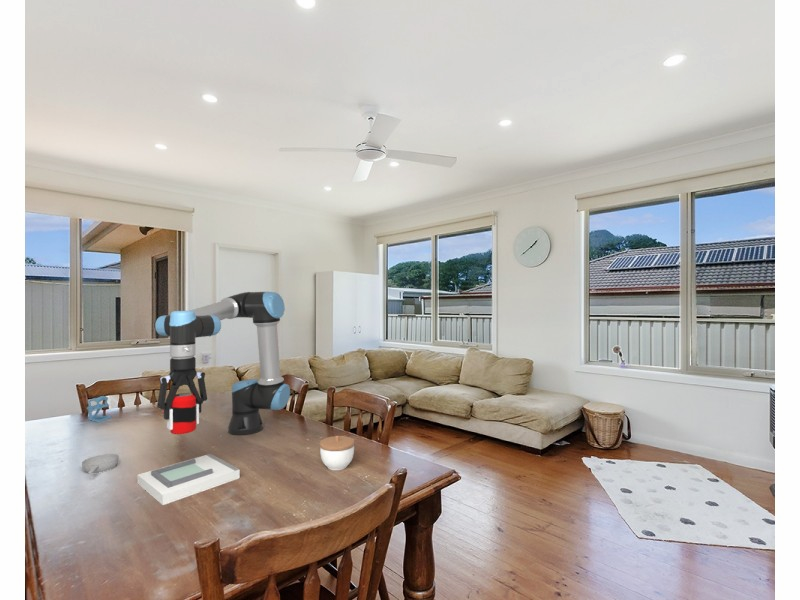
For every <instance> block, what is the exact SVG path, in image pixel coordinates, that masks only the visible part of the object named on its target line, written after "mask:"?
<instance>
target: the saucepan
mask: <svg viewBox="0 0 800 600" xmlns="http://www.w3.org/2000/svg"><path fill="white" fill-rule="evenodd" d="M119 457H120V456H119V454H117V453H106V454H98V455H95V456H90V457H89V458H87V459H84V460H83V461H82V462H81V467H82V470H83V471H84V472H85V473H86V474H89V473H96V474H100V473H99V472H102V473H104V472H103V471H106V472H108V471H107V470H109V471H110V469H111V470H113V469H115V467H116V466H117V465H118V462H119ZM112 468H113V469H112Z"/></svg>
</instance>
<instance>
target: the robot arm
mask: <svg viewBox="0 0 800 600" xmlns="http://www.w3.org/2000/svg"><path fill="white" fill-rule="evenodd" d="M285 309H286V308H285V302H284V299H283V297H282V296H281V295H280V294H279V293H277V292H274V291H247V292H241V293H238V294H233V295H230V296H227V297H224V298H222V299H221V300H220V301H218V302H215V303H212V304H211V303H210V304H207V305H205V306H204V305H203V306H201V307H197V308H195V309H191V310H174V311H171V313H170V314H167V315H166V314H165V315H161V316H159V317H158V318H157V319H156V321H155V325H154V327H155V331H156V333H157V334H158V335H160V336H162V337H163V336H165V337H169V345H170V346H169V357H170V359H169V370H170V371H169V374H168V375H166V376H160V377H159V378H158V379H159V383H160V386H159V391H158V399H157V403H156V404H157V405H156V406H157V409H158V408H159V409H160V410H163V419H164V420H166V429H168V430H172V429H173V409H171V408H170V407H171V405H172V402H173V400H174V397H175V395H176V394H177V391H178V390H179V389H180V387H183V386H188V389H189V391H190V393H192V394H193V395H194V396H195V397H196V425H199V423H200V414H201V413H202V405H203V404H204V402H206V401H208V394H207V389H206V382H205V377H206V373H205V372H203V371H197V369H196V364H197V363H196V359H197V358H196V357H195V356H196V339H197V338H203V337H204V338H205V337H206V338H207V337H211V336H212V337H213V336H217V335H218V334H219V333H220V331H221V329H222V322H221V321H222V320H226V319H227V320H232V319H237V318H244V319H245V318H249V319H252V324H253V325H255V326H256V334H257V345H258V346H257V347H258V356H259V357H258V360H259V370H260V371H259V372H260V378H259V379H258V378H251V379H244V380H239V381H236V382H235V383H233V384H232V387H231V388H232V390H231V404H232V406H231V409H232V411H231V412H232V414H231V417H230V421H229V423H228V428H227V429H228V434H230V435H235V436H245V435H251V434H256V433H258V432H261V431H262V430H263V429H264V423H263V420H262V417H261V414H260V410H270V411H279V410H280V411H281V410H282V409H284V408H285V407H286V406H287V404H288V401H289V400H290V397H291V388H290V385H289V384H287V383H285V379H284V377H283V376H281V366H280V352H279V338H278V337H279V336H278V335H279V334H278V324H279V323H280V322H281V318H282V317H283V316H284V314H285V313H284V312H285ZM195 378H196V379H197V385H198V389H199V391H198V389H197V387H196V384H195V381H194V379H195ZM169 380H170V381H171V382H172V383H171V385H170V389H169V391H168V394H167V390H168V383H169Z"/></svg>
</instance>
